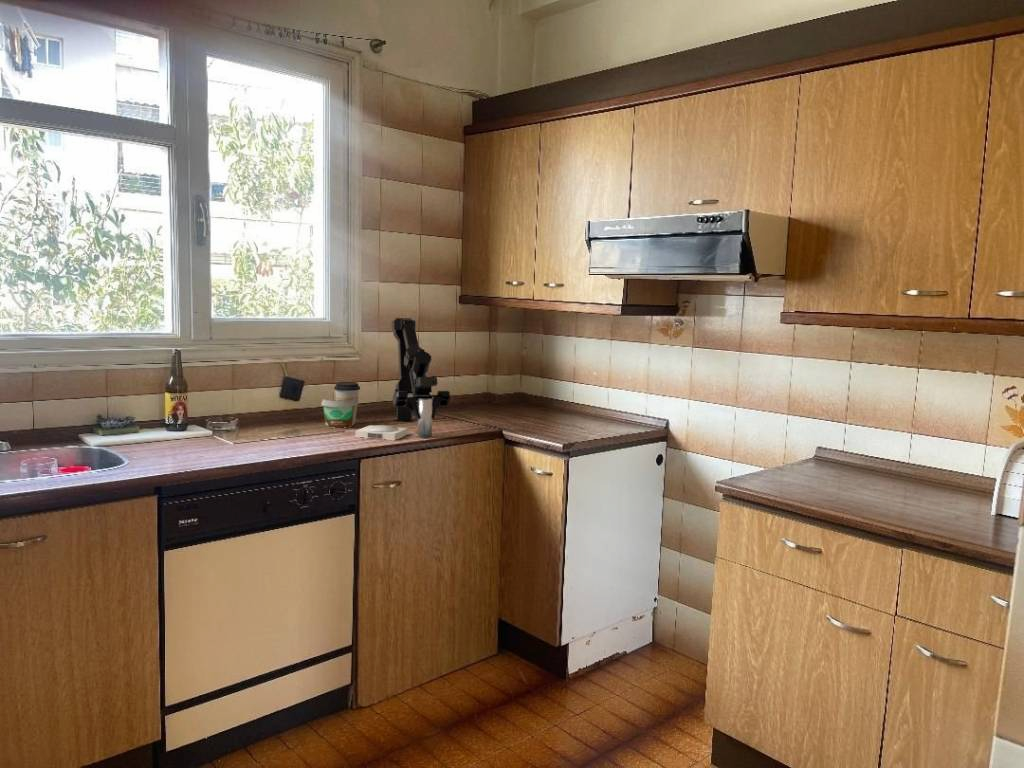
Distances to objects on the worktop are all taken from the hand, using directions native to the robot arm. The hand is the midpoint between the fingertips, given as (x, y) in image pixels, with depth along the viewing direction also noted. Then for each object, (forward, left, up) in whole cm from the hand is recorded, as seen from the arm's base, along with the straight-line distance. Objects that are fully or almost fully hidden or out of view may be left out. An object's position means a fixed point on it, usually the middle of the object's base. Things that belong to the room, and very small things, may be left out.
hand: (426, 418), depth 252 cm
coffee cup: (-13, -36, -7) cm, 39 cm away
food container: (-5, -35, -7) cm, 36 cm away
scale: (+3, -15, -7) cm, 16 cm away
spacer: (-1, -1, -7) cm, 7 cm away
